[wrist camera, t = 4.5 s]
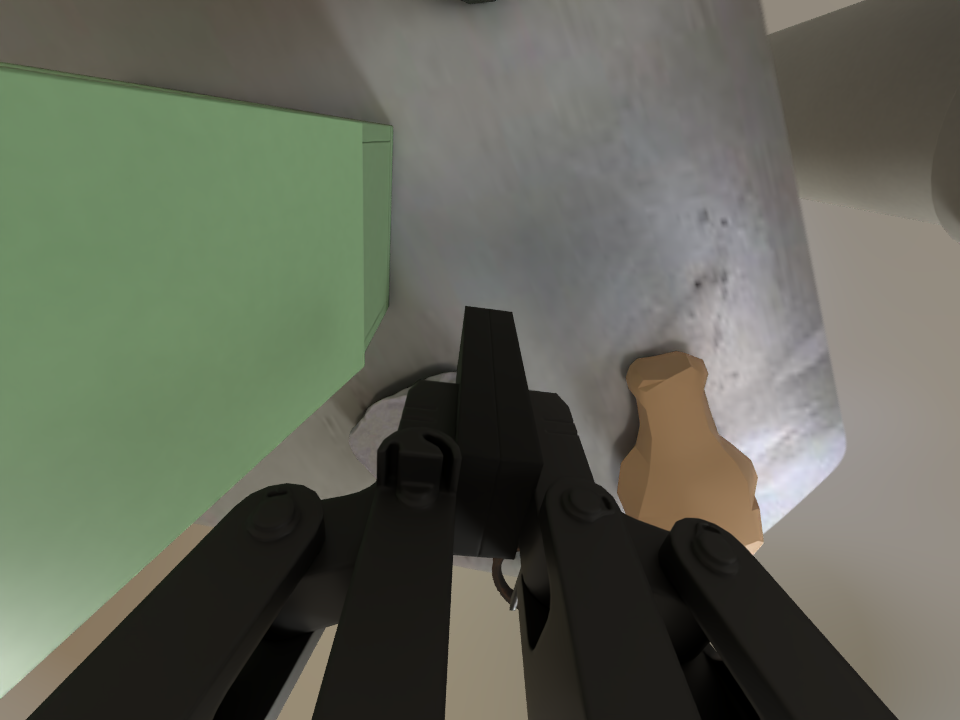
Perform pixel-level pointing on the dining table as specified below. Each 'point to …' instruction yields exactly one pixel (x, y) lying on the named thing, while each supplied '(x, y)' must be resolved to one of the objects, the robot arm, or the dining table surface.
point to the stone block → (382, 424)
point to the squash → (685, 454)
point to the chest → (374, 204)
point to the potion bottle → (477, 1)
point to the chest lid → (154, 323)
